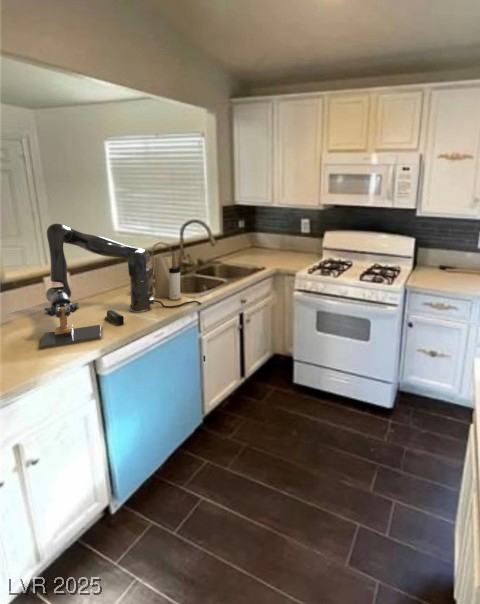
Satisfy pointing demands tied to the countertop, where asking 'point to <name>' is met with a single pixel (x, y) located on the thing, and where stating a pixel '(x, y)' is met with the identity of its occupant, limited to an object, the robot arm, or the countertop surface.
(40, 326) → the countertop surface
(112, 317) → the dark green rounded bar
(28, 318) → the countertop surface
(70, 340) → the slate board
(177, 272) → the travel mug
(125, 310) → the countertop surface
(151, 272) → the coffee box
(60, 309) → the brush
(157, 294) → the tall beige box
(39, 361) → the countertop surface
